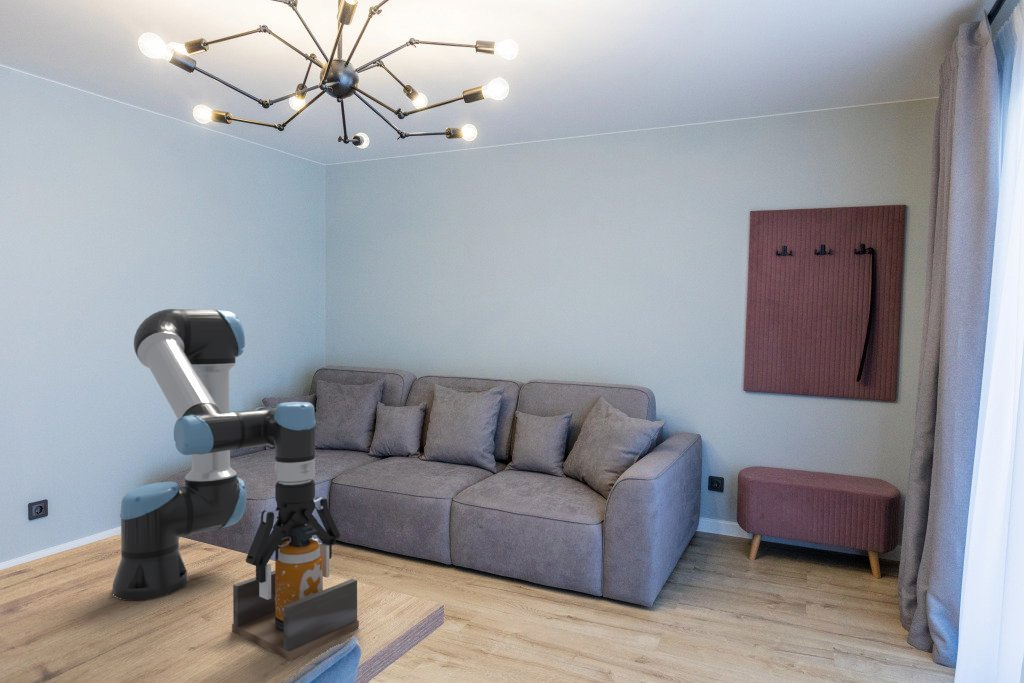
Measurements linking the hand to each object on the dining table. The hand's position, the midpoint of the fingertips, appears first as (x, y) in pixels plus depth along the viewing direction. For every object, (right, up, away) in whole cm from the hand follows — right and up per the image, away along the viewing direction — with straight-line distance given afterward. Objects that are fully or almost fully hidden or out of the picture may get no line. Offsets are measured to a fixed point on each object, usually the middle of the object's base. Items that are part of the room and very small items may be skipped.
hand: (295, 586), depth 129 cm
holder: (0, -9, 0) cm, 9 cm away
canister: (0, -7, 0) cm, 7 cm away
